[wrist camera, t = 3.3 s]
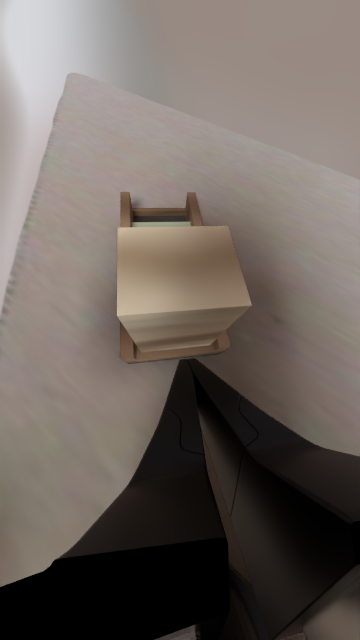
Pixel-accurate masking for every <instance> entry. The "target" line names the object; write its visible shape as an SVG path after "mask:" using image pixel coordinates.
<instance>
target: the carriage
mask: <svg viewBox="0 0 360 640" xmlns="http://www.w3.org/2000/svg"><path fill="white" fill-rule="evenodd" d="M251 306H252V304H251V300H250V297H249V294H248V290H247V287H246V284H245V280H244V277H243V274H242V271H241V267H240V264H239V261H238V257H237V254H236V251H235V247H234V244H233V241H232V237H231V234H230V231H229V228H228V226H184V227H123V228H118V260H117V317H118V318H119V320H120V321H121V323H122V324H123V326H124V327H125V329H126V330H127V332H128V333H129V335H130V336H131V338H132V339H133V341H134V342H135V344H136V345H137V347H138V348H139V350H140V351H141V352H151V351H160V350H170V349H180V348H189V347H199V346H208V345H211V344H212V343H213V342H214V341H215V340H216V339H217V338H218V337H219V336H220V335H221V334H222V333H223V332H224V331H225V330H226V329H228V328H229V327H230V326H231V325H232V324H233V323H234V322H235V321H236V320H237V319H238V318H239V317H240V316H241V315H242V314H243V313H245V312H246V311H247V310H248V309H249V308H250V307H251Z"/></svg>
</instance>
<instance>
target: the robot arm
mask: <svg viewBox="0 0 360 640" xmlns="http://www.w3.org/2000/svg"><path fill="white" fill-rule="evenodd" d="M201 429H202V432H203V435H204V438H205V441H206V444H207V447H208V450H209V453H210V457H211V460H212V463H213V466H214V469H215V472H216V475H217V478H218V481H219V484H220V487H221V491H222V494H223V497H224V500H225V503H226V506H227V509H228V512H229V515H230V517H231V522H232V525H233V528H234V531H235V534H236V537H237V540H238V543H239V546H240V550H241V553H242V556H243V559H244V562H245V565H246V568H247V571H248V574H249V577H250V580H251V584H252V586H251V585H250V584H249V583H248V582H247V581H246V580H245V579H244V578H243V577H242V576H241V575H240V574H239V573H238V572H237V571H236V570H235V569H234V568H233V567H232V566H231V565H230V564H229V561H228V542H227V538H226V535H225V531H224V528H223V524H222V521H221V517H220V514H219V511H218V507H217V504H216V500H215V497H214V493H213V490H212V487H211V483H210V480H209V476H208V472H207V467H206V461H205V454H204V447H203V440H202V433H201ZM303 631H304V634H305V636H306V639H307V640H360V457H359V456H355V455H351V454H346V453H342V452H338V451H334V450H329V449H326V448H323V447H320V446H318V445H315V444H313V443H311V442H309V441H308V440H306V439H304V438H303V437H301V436H300V435H298V434H297V433H295V432H294V431H292V430H290V429H289V428H287V427H286V426H284V425H283V424H281V423H280V422H278V421H277V420H275V419H274V418H272V417H271V416H269V415H268V414H266V413H265V412H264V411H262V410H261V409H259V408H258V407H256V406H255V405H254V404H252V403H251V402H250V401H248V400H247V399H246V398H245V397H243V396H242V395H241V394H240V393H238V392H237V391H236V390H234V389H233V388H232V387H231V386H229V385H228V384H227V383H226V382H224V381H223V380H222V379H221V378H219V377H218V376H217V375H216V374H214V373H213V372H212V371H211V370H209V369H208V368H207V367H205V366H204V365H203V364H202V363H200V362H199V361H198V360H197V359H195V358H191V359H188V360H187V359H182V360H179V363H178V366H177V369H176V372H175V375H174V379H173V382H172V385H171V388H170V391H169V394H168V397H167V400H166V403H165V407H164V409H163V412H162V415H161V418H160V421H159V423H158V426H157V428H156V430H155V432H154V435H153V437H152V439H151V441H150V443H149V445H148V447H147V449H146V451H145V453H144V455H143V457H142V460H141V462H140V464H139V466H138V468H137V470H136V472H135V474H134V475H133V477H132V479H131V480H130V482H129V484H128V485H127V486H126V488H125V489H124V490H123V491H122V493H121V494H120V495H119V496H118V497H117V498H116V499H115V500H114V502H113V503H112V504H111V505H110V506H109V507H108V508H107V509H106V511H105V512H104V513H103V514H102V515H101V516H100V517H99V518H98V520H97V521H96V522H95V523H94V524H93V525H92V526H91V527H90V528H89V530H88V531H87V532H86V533H85V534H84V535H83V536H82V537H81V539H80V540H79V541H78V542H77V543H76V544H75V545H74V546H73V547H72V548H71V549H70V550H68V551H67V552H66V553H64V554H63V555H62V556H60V557H59V558H57V559H56V560H54V561H53V563H52V564H51V566H50V567H48V568H47V569H46V570H44V571H43V572H40V573H37V574H35V575H32V576H29V577H26V578H24V579H21V580H18V581H16V582H13V583H10V584H7V585H5V586H2V587H0V640H279V639H282V638H285V637H288V636H291V635H294V634H297V633H300V632H303Z"/></svg>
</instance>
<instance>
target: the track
mask: <svg viewBox="0 0 360 640" xmlns="http://www.w3.org/2000/svg"><path fill="white" fill-rule="evenodd" d="M184 226H203V224H202V219H201V215H200V211H199V207H198V202H197V198H196V194H195V193H189V192H187V200H186V208H132V204H131V199H130V193H129V192H121V214H120V228H123V227H184ZM230 347H231V345H230V341H229V336H228V332H227V329H226V330H225V331H224V332H223V333H222V334H221V335H220V336H219V337H218V338H217V339H216V340H215V341H214V342H213V343H212V344H211V345H208V346H199V347H189V348H180V349H170V350H160V351H151V352H141V351H140V350H139V348H138V347H137V345H136V344H135V342H134V341H133V339H132V338H131V336H130V335H129V333H128V332H127V330H126V329H125V327H124V326H123V324H122V323H121V321H120V359H122V360H123V361H125V362H126V363H128V364H132V363H141V362H150V361H159V360H168V359H177V358H186V357H194V356H203V355H212V354H220V353H222V352H223V351H225V350H226V349H228V348H230Z"/></svg>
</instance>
